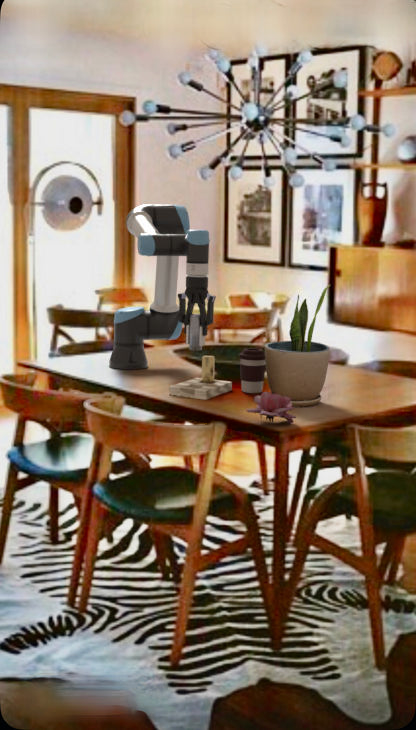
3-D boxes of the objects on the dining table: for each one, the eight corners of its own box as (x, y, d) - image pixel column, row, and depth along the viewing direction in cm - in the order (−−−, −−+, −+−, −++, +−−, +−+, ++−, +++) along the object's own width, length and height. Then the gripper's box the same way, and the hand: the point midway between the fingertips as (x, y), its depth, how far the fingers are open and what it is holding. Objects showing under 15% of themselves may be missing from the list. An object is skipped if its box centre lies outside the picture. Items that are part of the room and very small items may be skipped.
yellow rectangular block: (204, 388, 359) (205, 355, 357) (215, 389, 357) (216, 356, 355) (199, 390, 355) (199, 356, 353) (210, 391, 353) (211, 358, 351)
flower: (276, 422, 296) (279, 389, 297) (237, 420, 306) (241, 388, 307) (305, 429, 307) (309, 397, 308) (268, 427, 317) (271, 396, 318)
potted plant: (281, 411, 325) (286, 287, 319) (252, 398, 345) (256, 280, 338) (338, 407, 334) (344, 286, 327) (306, 394, 353) (311, 280, 346)
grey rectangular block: (186, 349, 344) (187, 314, 342) (192, 348, 348) (193, 313, 346) (198, 350, 342) (198, 315, 340) (204, 349, 346) (204, 314, 344)
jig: (196, 385, 364) (196, 377, 363) (231, 390, 357) (231, 381, 357) (169, 394, 346) (169, 386, 346) (205, 399, 340) (205, 390, 339)
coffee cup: (233, 389, 359) (234, 347, 356) (258, 388, 362) (259, 346, 360) (245, 395, 350) (246, 352, 347) (270, 393, 354) (272, 351, 351)
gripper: (169, 275, 341) (167, 343, 345) (215, 278, 333) (213, 348, 337) (179, 273, 348) (178, 340, 351) (225, 276, 340) (223, 345, 344)
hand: (195, 344), depth 344 cm, fingers closed on grey rectangular block, 4 cm apart
